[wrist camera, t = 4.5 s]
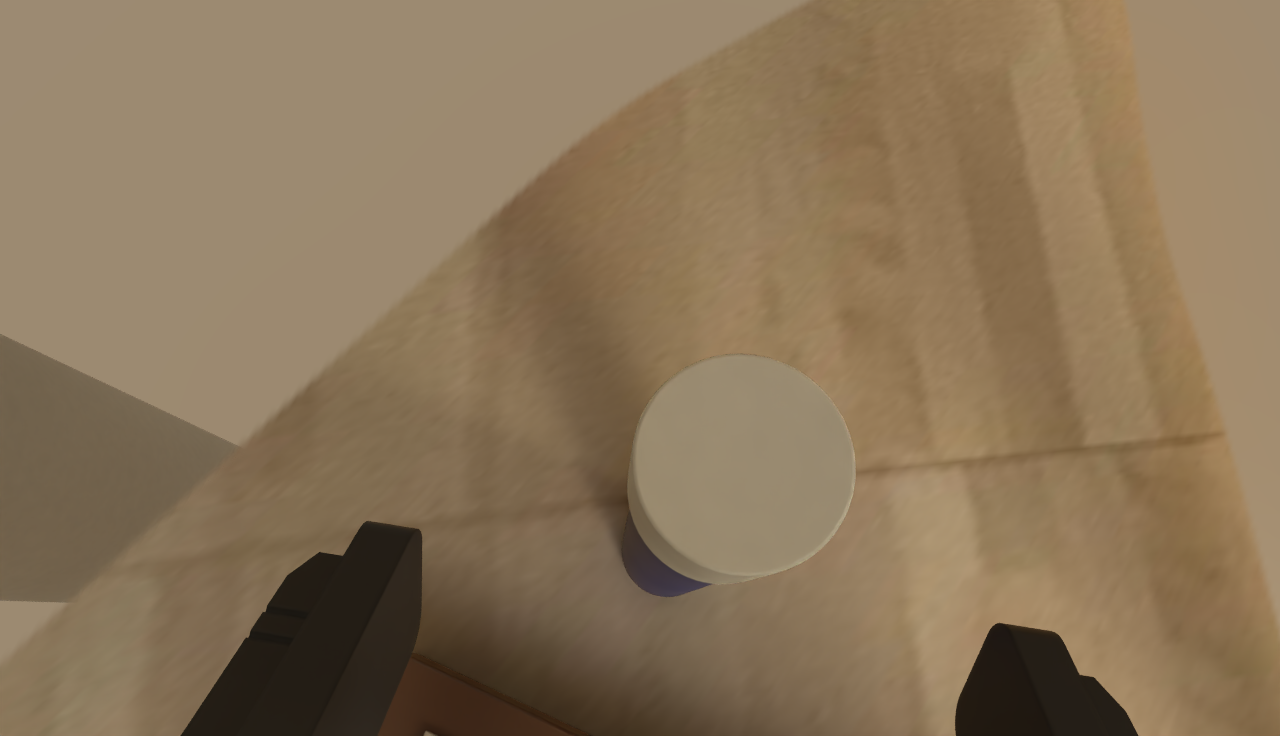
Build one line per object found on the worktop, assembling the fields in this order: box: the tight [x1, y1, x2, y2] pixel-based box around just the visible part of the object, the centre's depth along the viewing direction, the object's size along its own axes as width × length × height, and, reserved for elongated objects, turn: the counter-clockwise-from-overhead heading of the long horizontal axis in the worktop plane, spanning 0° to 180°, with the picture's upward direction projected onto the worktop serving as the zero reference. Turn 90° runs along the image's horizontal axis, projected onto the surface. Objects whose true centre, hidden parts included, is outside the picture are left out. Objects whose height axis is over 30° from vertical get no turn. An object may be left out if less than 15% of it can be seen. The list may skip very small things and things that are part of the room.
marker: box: [622, 354, 856, 597], centre depth 15 cm, size 2×2×12 cm
